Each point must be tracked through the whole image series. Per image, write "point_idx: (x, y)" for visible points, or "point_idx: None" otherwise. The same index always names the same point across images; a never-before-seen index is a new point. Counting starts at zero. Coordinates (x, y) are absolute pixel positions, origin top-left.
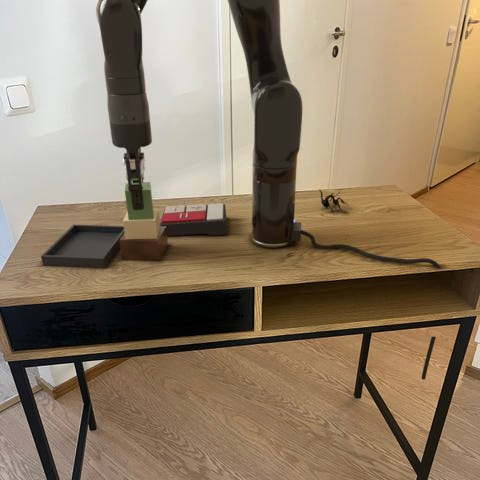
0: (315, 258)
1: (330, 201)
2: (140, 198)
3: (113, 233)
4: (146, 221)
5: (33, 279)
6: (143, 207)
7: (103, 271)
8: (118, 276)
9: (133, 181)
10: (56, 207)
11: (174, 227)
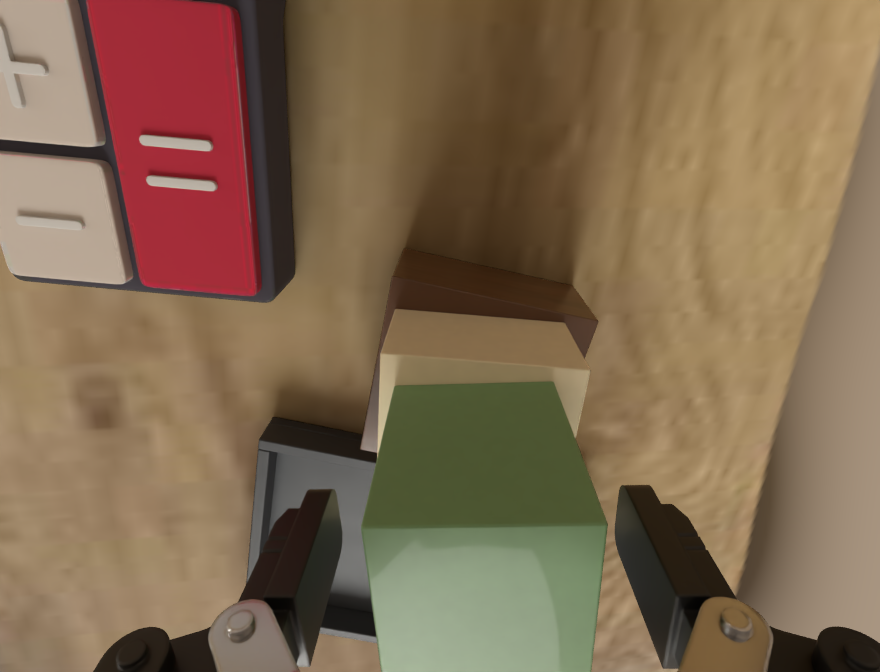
0: None
1: None
2: (714, 565)
3: (282, 477)
4: (580, 416)
5: (611, 643)
6: (653, 491)
7: (611, 479)
8: (669, 430)
9: (313, 636)
10: (16, 662)
11: (277, 220)
